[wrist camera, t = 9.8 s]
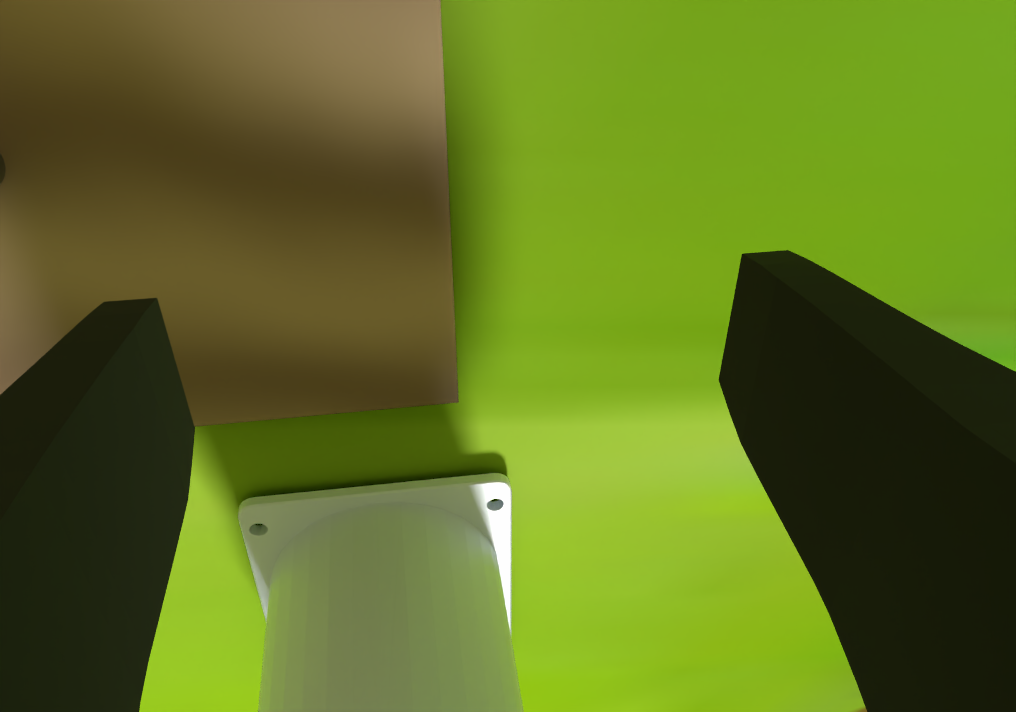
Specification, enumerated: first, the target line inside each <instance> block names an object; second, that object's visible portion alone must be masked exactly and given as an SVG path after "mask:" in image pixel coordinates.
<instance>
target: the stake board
mask: <svg viewBox="0 0 1016 712" xmlns="http://www.w3.org/2000/svg"><path fill="white" fill-rule="evenodd" d="M147 298H157V299H158V302H159V306H160V309H161V313H162V316H163V320H164V323H165V326H166V330H167V333H168V337H169V340H170V344H171V347H172V351H173V354H174V358H175V361H176V364H177V368H178V371H179V375H180V378H181V382H182V385H183V389H184V392H185V396H186V399H187V402H188V406H189V409H190V413H191V416H192V420H193V423H194V426H205V425H216V424H227V423H238V422H249V421H260V420H271V419H282V418H293V417H304V416H315V415H326V414H337V413H347V412H358V411H369V410H380V409H391V408H402V407H413V406H424V405H435V404H446V403H457V402H458V380H457V358H456V336H455V314H454V292H453V269H452V247H451V225H450V203H449V181H448V159H447V137H446V114H445V92H444V70H443V48H442V26H441V4H440V0H0V394H2V393H3V392H4V391H5V390H6V389H7V388H8V387H9V386H10V385H11V384H13V383H14V382H15V381H16V380H17V379H18V378H19V377H20V376H21V375H23V374H24V373H25V372H26V371H27V370H28V369H29V368H30V367H31V366H33V365H34V364H35V363H36V362H37V361H38V360H39V359H40V358H41V357H42V356H43V355H45V354H46V353H47V352H48V351H49V350H50V349H51V348H52V347H53V346H54V345H55V344H56V343H57V342H59V341H60V340H61V339H62V338H63V337H64V336H65V335H66V334H67V333H68V332H69V331H70V330H72V329H73V328H74V327H75V326H76V325H77V324H78V323H79V322H80V321H81V320H83V319H84V318H85V317H86V316H87V315H88V314H89V313H91V312H92V311H93V310H94V309H95V308H97V307H98V306H99V305H100V304H102V303H103V302H107V301H120V300H133V299H147Z"/></svg>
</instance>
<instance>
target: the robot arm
mask: <svg viewBox="0 0 1016 712" xmlns="http://www.w3.org/2000/svg"><path fill="white" fill-rule="evenodd" d="M719 382H720V385H721V388H722V391H723V394H724V397H725V400H726V403H727V406H728V409H729V412H730V415H731V418H732V421H733V423H734V426H735V429H736V431H737V434H738V437H739V439H740V442H741V445H742V446H743V448H744V450H745V452H746V454H747V456H748V458H749V460H750V462H751V464H752V466H753V468H754V470H755V472H756V474H757V476H758V478H759V480H760V481H761V483H762V485H763V487H764V489H765V491H766V493H767V495H768V497H769V499H770V501H771V502H772V504H773V506H774V508H775V510H776V512H777V514H778V515H779V517H780V519H781V521H782V523H783V525H784V527H785V529H786V530H787V532H788V534H789V536H790V538H791V540H792V542H793V544H794V545H795V547H796V549H797V551H798V553H799V555H800V557H801V559H802V560H803V562H804V564H805V566H806V568H807V570H808V572H809V574H810V575H811V577H812V579H813V581H814V583H815V585H816V587H817V589H818V591H819V594H820V596H821V598H822V600H823V602H824V604H825V606H826V608H827V610H828V612H829V615H830V617H831V620H832V622H833V625H834V627H835V630H836V632H837V635H838V637H839V640H840V642H841V645H842V647H843V650H844V652H845V655H846V657H847V660H848V662H849V665H850V667H851V670H852V672H853V675H854V677H855V680H856V682H857V685H858V687H859V690H860V693H861V696H862V698H863V701H864V704H865V706H866V709H867V712H1016V372H1015V371H1013V370H1011V369H1009V368H1007V367H1005V366H1003V365H1001V364H999V363H997V362H995V361H993V360H991V359H989V358H987V357H985V356H983V355H981V354H979V353H977V352H975V351H973V350H971V349H969V348H967V347H965V346H963V345H961V344H959V343H957V342H955V341H953V340H951V339H949V338H948V337H946V336H944V335H942V334H940V333H938V332H936V331H934V330H933V329H931V328H929V327H927V326H925V325H924V324H922V323H920V322H918V321H916V320H914V319H913V318H911V317H909V316H907V315H906V314H904V313H902V312H900V311H898V310H897V309H895V308H893V307H891V306H890V305H888V304H886V303H884V302H883V301H881V300H879V299H877V298H876V297H874V296H872V295H870V294H869V293H867V292H865V291H864V290H862V289H860V288H858V287H857V286H855V285H853V284H851V283H850V282H848V281H846V280H844V279H843V278H841V277H839V276H837V275H836V274H834V273H832V272H830V271H828V270H827V269H825V268H823V267H821V266H819V265H817V264H815V263H814V262H812V261H810V260H808V259H806V258H804V257H802V256H800V255H797V254H795V253H793V252H791V251H788V250H786V251H772V252H759V253H746V254H742V257H741V262H740V268H739V273H738V279H737V284H736V289H735V295H734V300H733V305H732V311H731V316H730V322H729V327H728V332H727V338H726V343H725V349H724V354H723V359H722V365H721V370H720V375H719ZM194 432H195V427H194V423H193V420H192V416H191V413H190V409H189V406H188V402H187V399H186V396H185V392H184V389H183V385H182V382H181V378H180V375H179V371H178V368H177V364H176V361H175V358H174V354H173V351H172V347H171V344H170V340H169V337H168V333H167V330H166V326H165V323H164V320H163V316H162V313H161V309H160V306H159V302H158V299H157V298H147V299H133V300H120V301H107V302H103V303H102V304H100V305H99V306H98V307H97V308H95V309H94V310H93V311H92V312H91V313H89V314H88V315H87V316H86V317H85V318H84V319H83V320H81V321H80V322H79V323H78V324H77V325H76V326H75V327H74V328H73V329H72V330H70V331H69V332H68V333H67V334H66V335H65V336H64V337H63V338H62V339H61V340H60V341H59V342H57V343H56V344H55V345H54V346H53V347H52V348H51V349H50V350H49V351H48V352H47V353H46V354H45V355H43V356H42V357H41V358H40V359H39V360H38V361H37V362H36V363H35V364H34V365H33V366H31V367H30V368H29V369H28V370H27V371H26V372H25V373H24V374H23V375H21V376H20V377H19V378H18V379H17V380H16V381H15V382H14V383H13V384H11V385H10V386H9V387H8V388H7V389H6V390H5V391H4V392H3V393H2V394H0V712H139V708H140V701H141V696H142V691H143V686H144V681H145V676H146V671H147V666H148V661H149V657H150V653H151V649H152V645H153V641H154V637H155V633H156V629H157V625H158V621H159V617H160V613H161V609H162V604H163V600H164V596H165V592H166V588H167V584H168V580H169V576H170V572H171V568H172V564H173V560H174V556H175V552H176V548H177V544H178V540H179V535H180V531H181V527H182V523H183V519H184V514H185V510H186V506H187V501H188V495H189V486H190V476H191V467H192V456H193V444H194ZM492 499H499V500H497V501H490V500H492ZM511 505H512V490H511V485H510V481H509V478H508V477H507V476H505V475H503V474H501V473H489V474H479V475H469V476H459V477H449V478H439V479H429V480H419V481H409V482H400V483H390V484H380V485H370V486H360V487H350V488H340V489H330V490H320V491H310V492H300V493H291V494H281V495H271V496H261V497H253V498H248V499H246V500H244V501H243V502H242V503H241V504H240V506H239V511H238V520H239V524H240V528H241V531H242V535H243V539H244V542H245V546H246V550H247V553H248V557H249V561H250V564H251V568H252V572H253V575H254V579H255V583H256V586H257V590H258V594H259V597H260V601H261V605H262V608H263V612H264V616H265V619H266V632H265V643H264V654H263V665H262V676H261V686H260V697H259V708H258V712H524V711H523V706H522V700H521V694H520V688H519V682H518V676H517V670H516V664H515V658H514V652H513V646H512V640H511ZM254 524H263V525H262V526H257V525H254Z"/></svg>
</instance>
